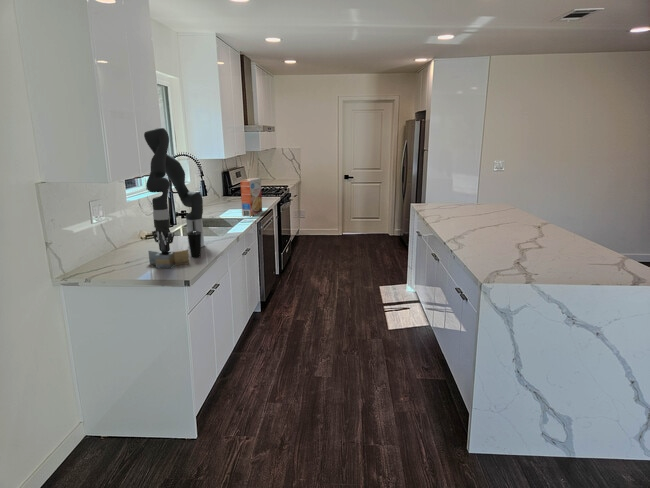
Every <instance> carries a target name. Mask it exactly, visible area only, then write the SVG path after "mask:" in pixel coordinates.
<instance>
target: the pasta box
mask: <svg viewBox="0 0 650 488" xmlns="http://www.w3.org/2000/svg"><path fill="white" fill-rule="evenodd" d="M240 194H241V195H240V196H241V198H240V199H241V216H250V217H249V218H252V217H251V216H253V215H255V216H257V215H259V214H261V213H260V212H262V213H263V202H262V201H263V200H262V199H263V197H262V178H261V177H250V178H247V179H246V178H244V179H242V180H240ZM258 213H259V214H258ZM256 214H257V215H256ZM253 217H254V216H253Z"/></svg>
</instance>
